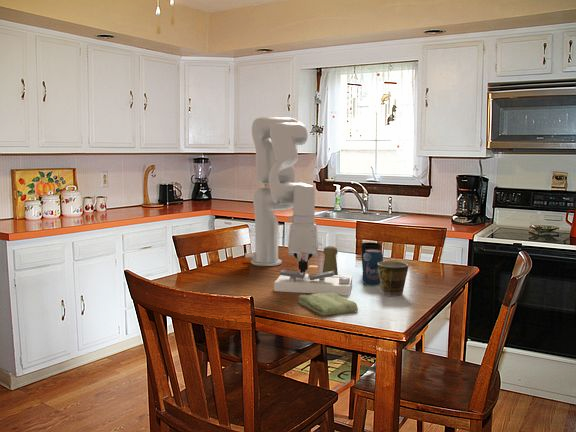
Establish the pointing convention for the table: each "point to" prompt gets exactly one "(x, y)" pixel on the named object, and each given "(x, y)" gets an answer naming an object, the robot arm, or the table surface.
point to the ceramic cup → (392, 277)
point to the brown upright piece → (330, 260)
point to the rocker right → (322, 275)
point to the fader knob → (312, 269)
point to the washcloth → (328, 303)
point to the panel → (314, 284)
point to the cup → (369, 247)
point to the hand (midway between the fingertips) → (303, 271)
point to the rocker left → (292, 274)
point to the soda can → (371, 266)
